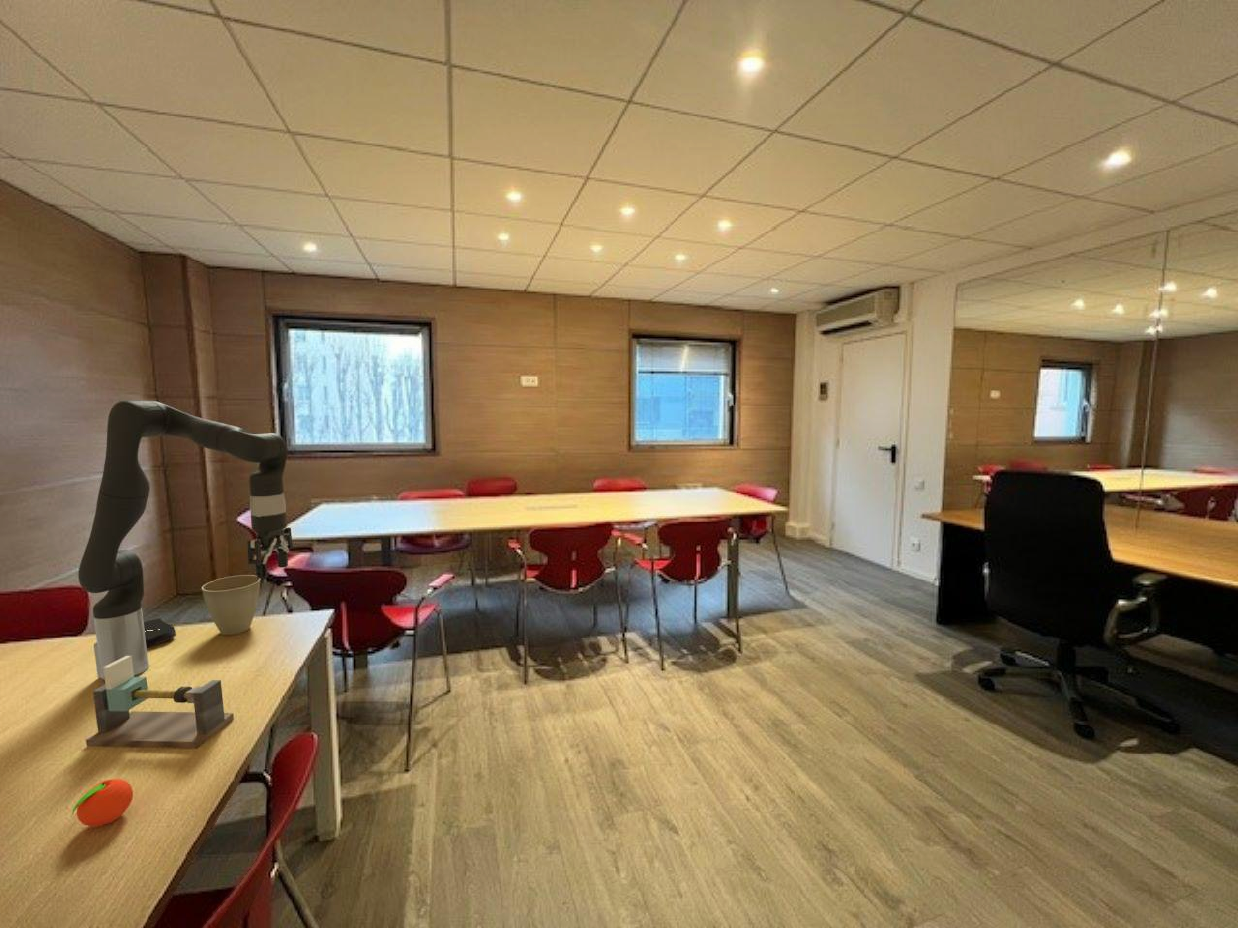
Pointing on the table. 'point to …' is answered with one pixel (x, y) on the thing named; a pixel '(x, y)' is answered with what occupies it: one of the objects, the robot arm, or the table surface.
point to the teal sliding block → (123, 685)
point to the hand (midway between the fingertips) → (273, 572)
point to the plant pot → (232, 602)
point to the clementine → (104, 802)
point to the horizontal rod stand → (162, 719)
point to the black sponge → (158, 632)
